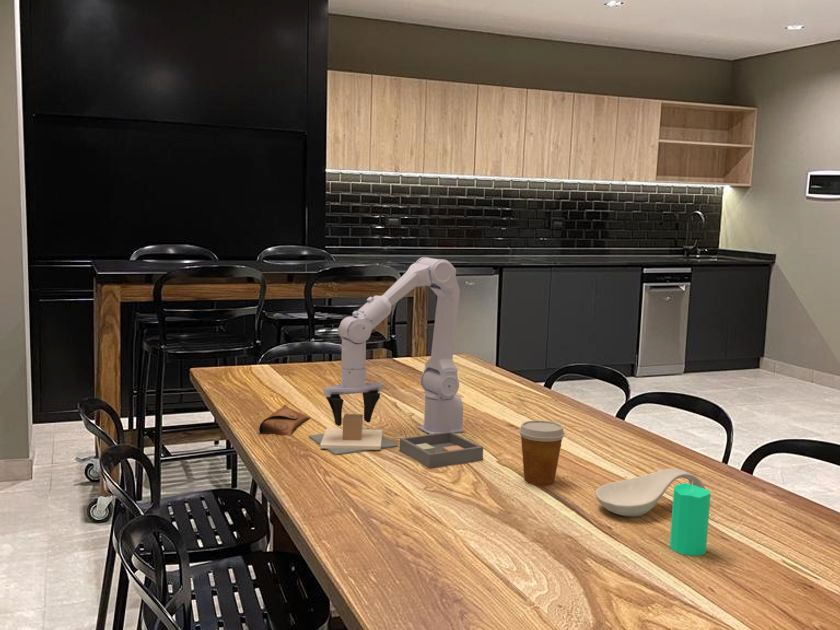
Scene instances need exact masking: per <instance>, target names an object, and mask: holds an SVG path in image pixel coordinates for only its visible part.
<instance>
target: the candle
mask: <svg viewBox="0 0 840 630" xmlns="http://www.w3.org/2000/svg"><path fill="white" fill-rule="evenodd" d="M672 493H673V494H672V497H673V498H672V506H671V507H672V509H671V510H672V512H671V522H670V523H671V525H670V535H669V536H670V539H669V546H670V549H671V550H672V551H673V552H675V553H678V554H682V555H684V556H694V557H695V556H703V555H704V554H705V553H706V552H707V544H708V530H709V518H710V517H709V516H710V506H711V504H710V503H711V492H710V490H709V489H706V488H705V489H704V488H701V487H698V486H695V485H693V481H692V485H691V484H690V483H687V482H684V483H680V484H676V485H675V486H673V492H672Z"/></svg>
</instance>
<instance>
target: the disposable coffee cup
mask: <svg viewBox="0 0 840 630" xmlns="http://www.w3.org/2000/svg"><path fill="white" fill-rule="evenodd" d="M518 433H519V435H520V440H521V442H520V443H521V451H522V452H521V453H522V464H523V477H524V478H523V480H524V482H525V483H527V484H530V485H532V486H539V487H541V486H542V487H544V486H550V485H553V484H554V483H555V479H556V473H557V469H558V463H559V457H560V452H561V448H562V441H563V439H564V436H566V435H565V431H564V427H563V425H562V424H560V423H558V422H554V421H549V420H528V421H524V422H522V423H521V424H520V428H519V429H518Z"/></svg>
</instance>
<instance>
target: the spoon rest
mask: <svg viewBox="0 0 840 630" xmlns="http://www.w3.org/2000/svg"><path fill="white" fill-rule="evenodd" d="M681 478H682V479H685V480H687V481H688V482H689V484H691V485H692V481H693V485H695V486H698V487H701V488H704V489H706V487H705V485H704V483H703V482H702V480H701V479H699V478H698V477H697V475H694V474H692V473H689V472H688V471H686V470H683V469H680V468H675V467H674V468H665V469H660V470H658V471H653V472H650V473H647V474H643V475H640V476H637V477H633V478H627V479H623V480H622V479H621V480H617V481H613V482H610V483H609V482H608V483H606V484H602V485H600V486H599V487H598V488H596V490H595V492H594V493H595V497H596V500H597V502H599V504H601V506H602V507H604V509H606V510H608V511H609V512H610V513H612V514H615V515H618V516H621V517H627V518H636V517H637V518H638V517H642V516H644V515H645V514H646V513H648V512H650V511H651V510H652V509H653V508H654V507H655V506H656V505H657V504H658V502H659V501H660V500H661V498H662V497H663V495H664V494H665V492H666V491H667V490H668V488H669V487H670V486H671V485H672V483H673V482H676V480H678V479H681Z"/></svg>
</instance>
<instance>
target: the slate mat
mask: <svg viewBox="0 0 840 630" xmlns="http://www.w3.org/2000/svg"><path fill="white" fill-rule="evenodd" d="M365 429H368V430H371V429H370V428H369V427H368V428H367V427H366V428H365ZM323 436H324V433H318V434H311V435H308V438H309V439H311V440H312V441H313V442H314V443H317V445H320V444H321V441H322V439H323ZM397 447H398V444H397V443H395V442H392V441H391V440H389V439H388V438H386V437H384V436H382V442H381V450H384V449H391V448H397ZM324 449H325V450H327V451H328V452H330V453H331V454H333V455H334V456H339V455H346V454H354V453H355V454H356V453H362V452H368V451H372V450H371V449H328V448H324Z"/></svg>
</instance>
